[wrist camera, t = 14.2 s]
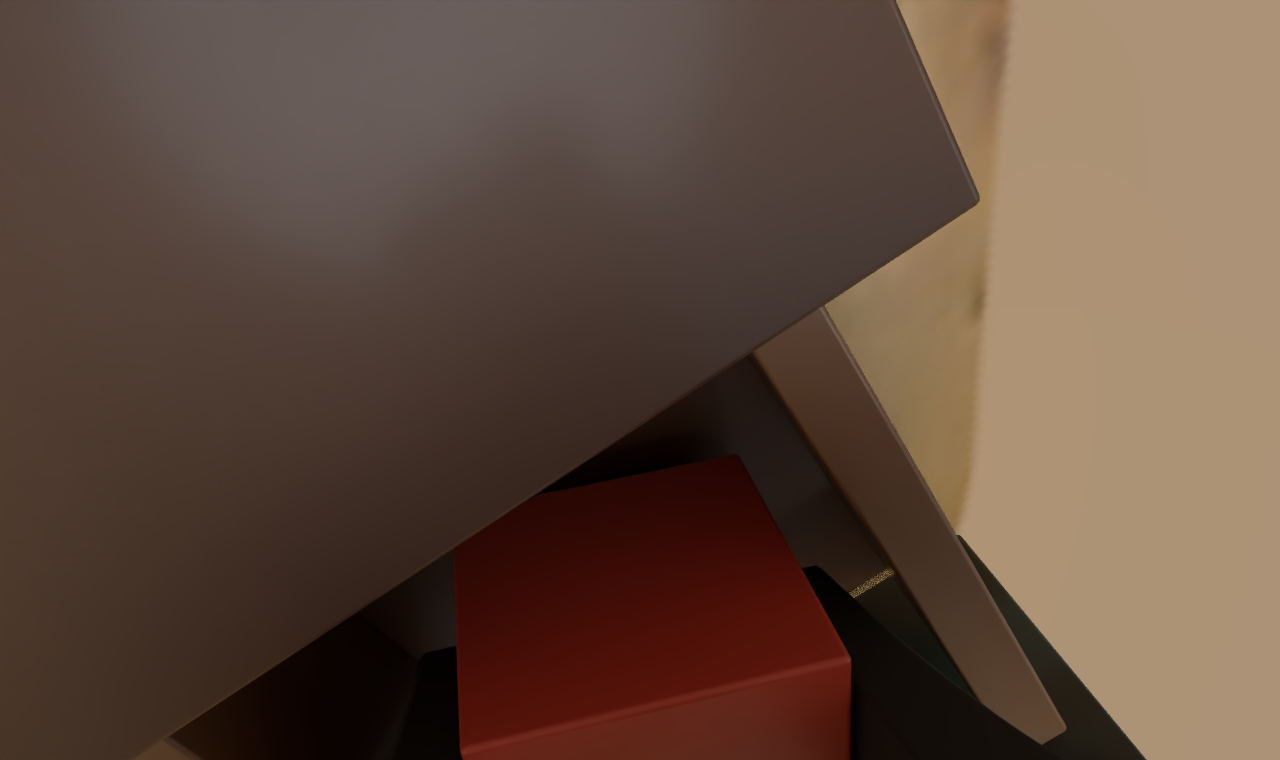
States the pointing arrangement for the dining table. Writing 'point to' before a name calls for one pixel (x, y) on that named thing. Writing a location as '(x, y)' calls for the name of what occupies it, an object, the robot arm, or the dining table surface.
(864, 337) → the dining table surface
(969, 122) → the dining table surface
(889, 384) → the dining table surface
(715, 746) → the block
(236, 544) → the cabinet
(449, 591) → the drawer
